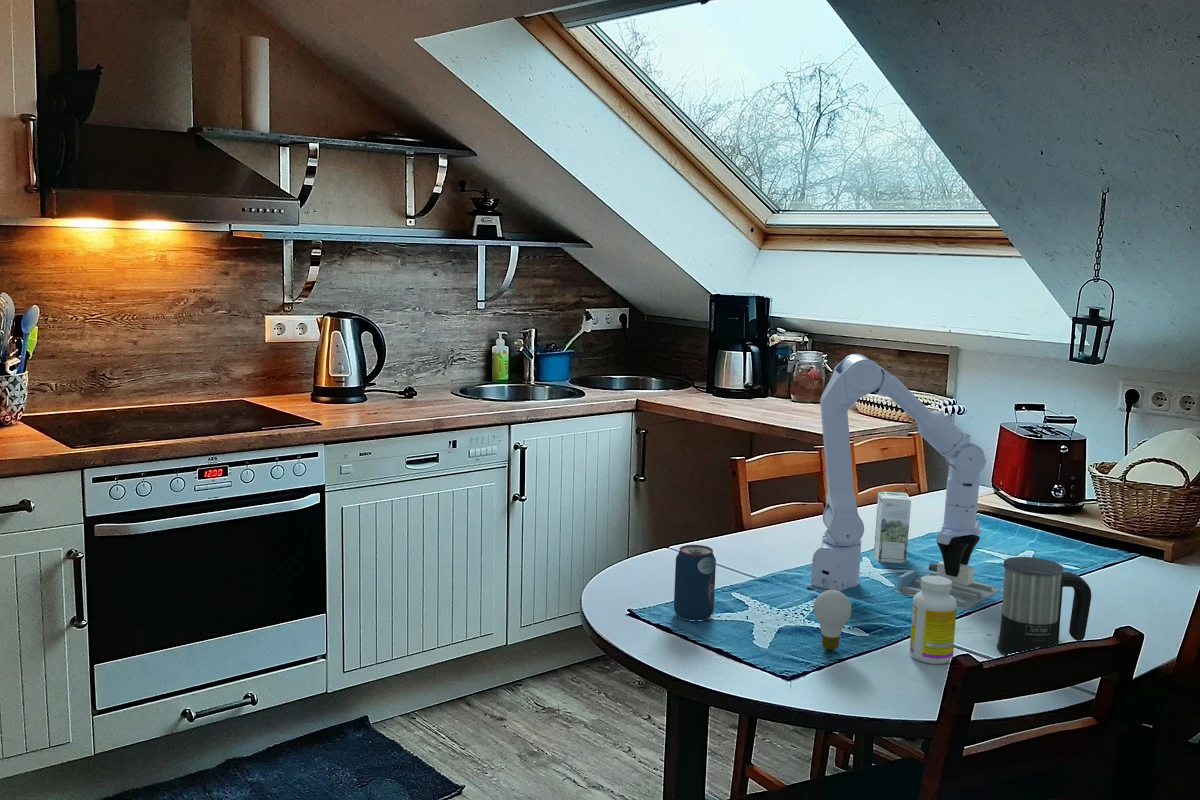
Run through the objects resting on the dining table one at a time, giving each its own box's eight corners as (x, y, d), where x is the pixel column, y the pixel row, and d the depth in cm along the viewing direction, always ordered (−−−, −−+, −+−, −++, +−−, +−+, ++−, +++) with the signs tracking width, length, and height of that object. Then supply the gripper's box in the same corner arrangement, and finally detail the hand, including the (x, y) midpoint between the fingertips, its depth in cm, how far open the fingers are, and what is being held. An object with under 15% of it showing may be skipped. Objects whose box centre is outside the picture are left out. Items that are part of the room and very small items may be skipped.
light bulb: (843, 643, 177) (847, 585, 175) (852, 657, 171) (856, 597, 169) (807, 643, 177) (811, 584, 175) (815, 657, 171) (819, 596, 169)
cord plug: (966, 585, 201) (968, 570, 201) (926, 575, 207) (927, 560, 206) (973, 582, 204) (974, 567, 203) (932, 572, 209) (934, 557, 208)
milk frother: (1019, 665, 170) (1027, 574, 167) (960, 629, 185) (967, 546, 182) (1095, 658, 174) (1104, 569, 171) (1031, 623, 189) (1038, 541, 186)
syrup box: (901, 559, 224) (906, 491, 222) (906, 568, 218) (911, 498, 216) (873, 558, 225) (877, 490, 222) (877, 566, 219) (882, 497, 217)
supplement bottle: (961, 661, 171) (968, 583, 169) (931, 668, 167) (938, 589, 166) (929, 646, 176) (935, 571, 175) (900, 653, 173) (905, 576, 171)
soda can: (718, 622, 185) (721, 554, 183) (679, 624, 184) (682, 556, 182) (706, 608, 192) (709, 543, 190) (668, 610, 190) (671, 544, 189)
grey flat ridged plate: (965, 615, 192) (966, 596, 191) (892, 596, 201) (893, 578, 200) (1000, 594, 204) (1001, 576, 203) (929, 577, 213) (930, 560, 212)
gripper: (966, 514, 194) (959, 587, 196) (997, 501, 205) (990, 570, 207) (929, 507, 199) (923, 578, 201) (961, 494, 210) (955, 561, 212)
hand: (955, 573), depth 204 cm, fingers closed on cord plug, 3 cm apart
